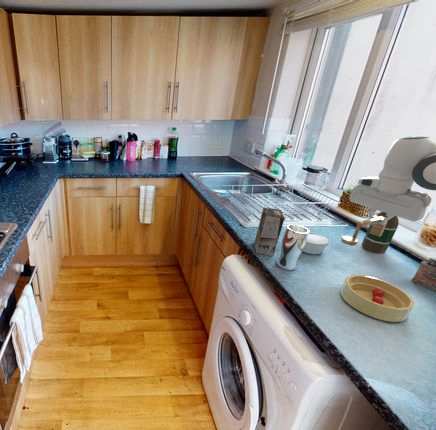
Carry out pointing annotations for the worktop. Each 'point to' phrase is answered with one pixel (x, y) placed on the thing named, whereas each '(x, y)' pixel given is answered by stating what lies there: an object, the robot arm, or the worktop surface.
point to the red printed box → (426, 274)
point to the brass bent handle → (375, 230)
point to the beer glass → (292, 246)
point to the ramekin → (315, 243)
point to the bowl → (362, 296)
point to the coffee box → (269, 231)
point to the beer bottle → (383, 241)
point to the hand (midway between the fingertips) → (376, 222)
